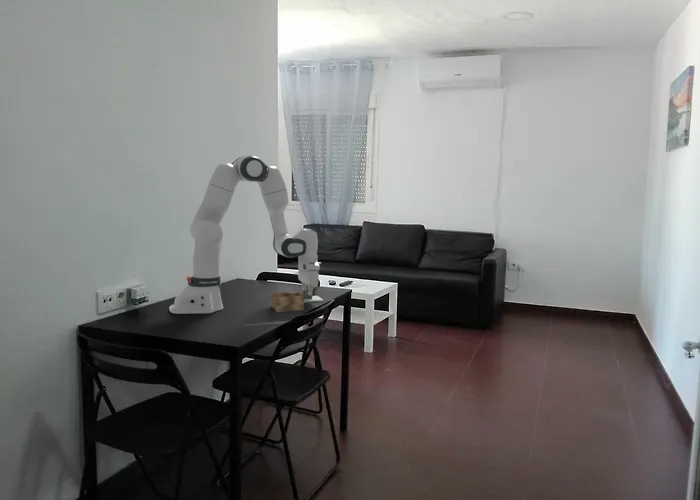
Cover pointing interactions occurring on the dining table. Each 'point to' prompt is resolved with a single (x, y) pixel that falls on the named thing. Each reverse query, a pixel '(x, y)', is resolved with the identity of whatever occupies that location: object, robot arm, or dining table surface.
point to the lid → (311, 298)
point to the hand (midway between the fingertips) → (307, 293)
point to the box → (287, 301)
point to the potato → (312, 291)
